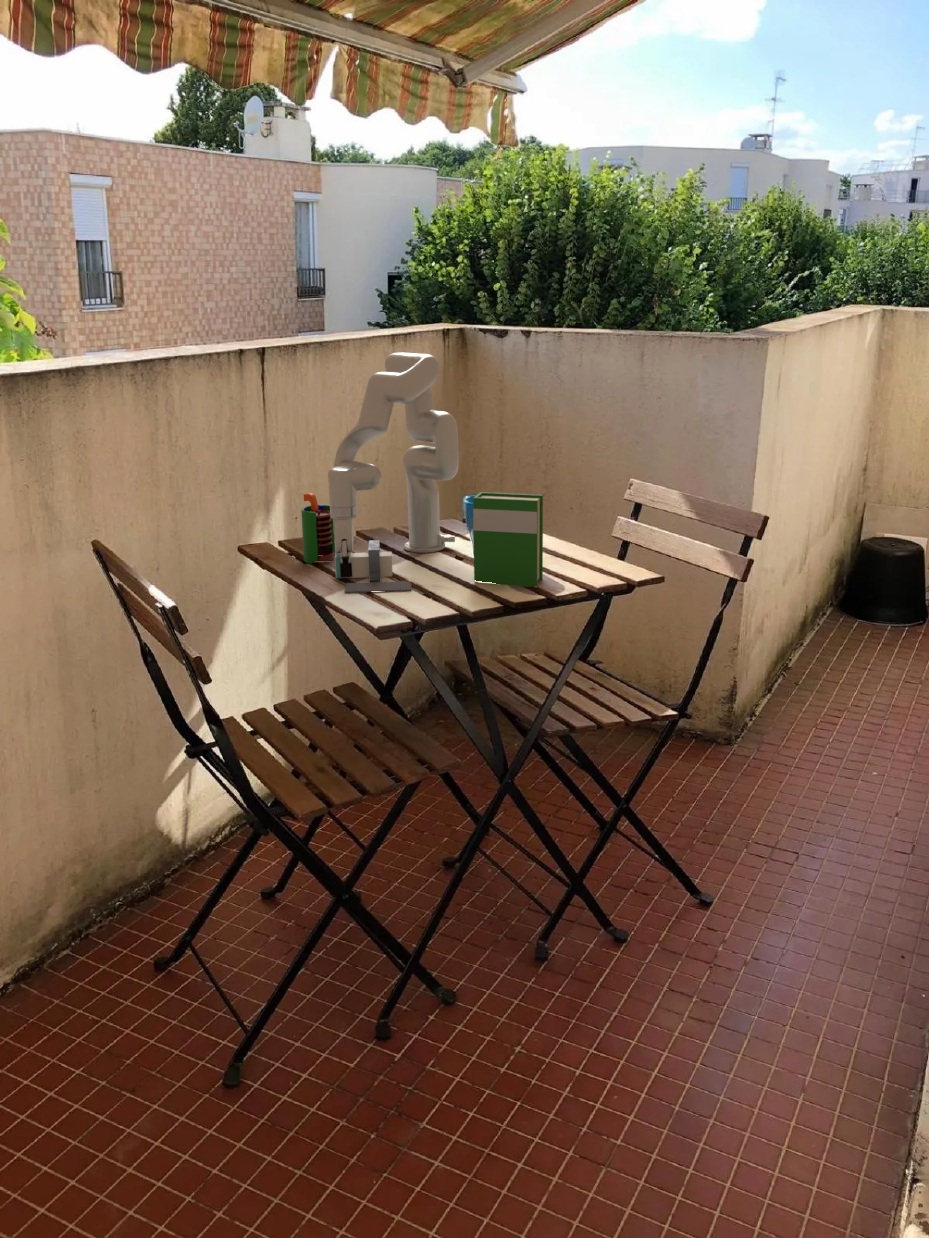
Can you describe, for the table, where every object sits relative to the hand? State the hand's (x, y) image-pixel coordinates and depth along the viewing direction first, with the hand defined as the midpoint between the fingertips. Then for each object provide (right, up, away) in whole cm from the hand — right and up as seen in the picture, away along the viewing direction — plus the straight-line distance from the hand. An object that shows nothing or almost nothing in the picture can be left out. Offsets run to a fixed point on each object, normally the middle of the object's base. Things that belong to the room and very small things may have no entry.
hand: (346, 573), depth 313 cm
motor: (-10, +5, +17) cm, 20 cm away
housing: (+8, 0, +1) cm, 8 cm away
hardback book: (+46, -3, -7) cm, 46 cm away
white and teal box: (+5, 0, 0) cm, 5 cm away
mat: (+10, -4, -11) cm, 16 cm away
